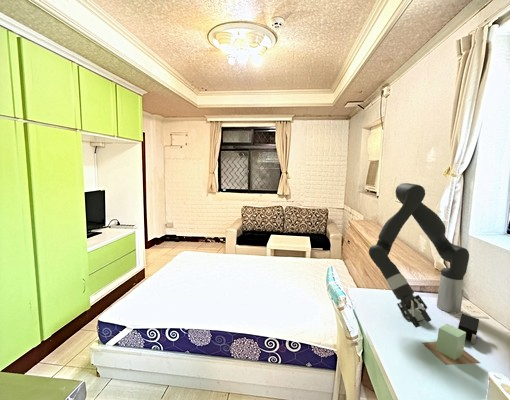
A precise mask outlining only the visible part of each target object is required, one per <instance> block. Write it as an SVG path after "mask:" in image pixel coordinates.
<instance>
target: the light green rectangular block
mask: <svg viewBox="0 0 510 400" xmlns="http://www.w3.org/2000/svg"><path fill="white" fill-rule="evenodd" d="M437 332H438V333H437V339H436V342H437V345H436V350H437V351H439V352H441V353H443V354H445V355H446V356H448V357H450V358H452V359H454V360H456V359H457V358H459V357H460V356H461V355H463V350H465V349H464V348H465V343H466V342H465V341H466V339H465V337H466V332H464V331H462V330H460V329H458V327H455V326H453V325H451V324H449V323H445V324H444V325H442V326H440V327H438V331H437Z"/></svg>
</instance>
